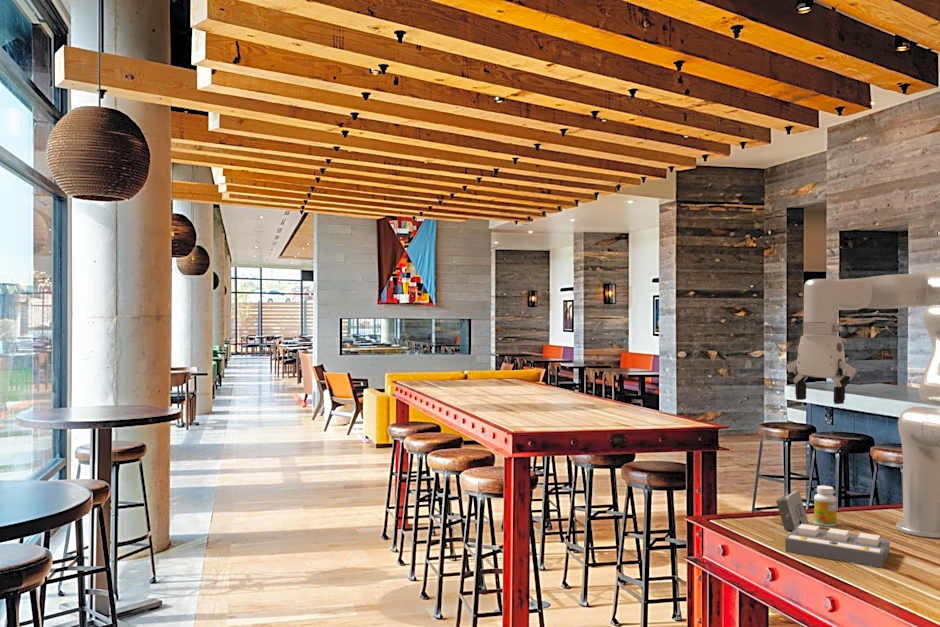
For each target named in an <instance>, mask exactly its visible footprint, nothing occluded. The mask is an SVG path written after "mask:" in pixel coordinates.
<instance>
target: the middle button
mask: <svg viewBox="0 0 940 627" xmlns="http://www.w3.org/2000/svg"><path fill="white" fill-rule="evenodd" d="M828 530H829V531H828V532H827V539H831V540H837V541H843V542H848V540H849V533H850V530H846V529H845V530H844V529H841V528H840V529H839V528H832V527H829V529H828Z"/></svg>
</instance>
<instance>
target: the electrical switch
mask: <svg viewBox="0 0 940 627" xmlns="http://www.w3.org/2000/svg"><path fill="white" fill-rule="evenodd" d="M775 503H776V505H777V509H778V512H779V514H780V519H781V522H782V525H783V528H784V531H785V530H787V531H793V530H794V529H795V528H796V527H797V526H800V525H801V524H806V525H810V524H809V523H810V522H809V519H808V516H807V513H806V509H805V507H804V503H803V499H802V496H801V494H800V491H799V490H794V491H792V492H791V493H789V494H784V495H783V496H781V497H780V498H778V499H776V502H775Z"/></svg>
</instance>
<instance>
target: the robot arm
mask: <svg viewBox="0 0 940 627" xmlns="http://www.w3.org/2000/svg"><path fill="white" fill-rule="evenodd" d="M916 307H925V309H924V311H923V317H922V318H923V320H922V321H923V324H924V326H925V329H926V330H927V332H928V334H929V337H930V340H931V344H932V345H931V346H932V349H931V350H932V351H931V353H930V354H931V355H930V358H929V360H928V363H927V366H926V368H925V371H924V373H923V376H922V378H921V380H920V384H919V388H918V395H919V398H920V399H921V401H923V402H924V403H925V404H928V405H931V406H936V407H940V271H937V272H918V273H917V272H916V273H903V274H902V273H901V274H884V275H875V276H868V277H860V278H846V279H844V278H843V279H842V278H841V279H831V278H812V279H808V280H806V281H805V283H804V284H803V332H802V333H803V334H802V335H801V336H800V339H799V344H798V348H797V350H798V351H797V357H796V359H795V360H793V361H791V362H788V363H787V364H785V366H786V367H785V368H786V370H787V371H788V375H789V377H790V378H791V379H792V381H793V383H794V384H795V390H794V391H795V393H794V394H795V399H796V400H797V401H803V400H806V399H807V384H806V382H805V381H806V380H807V379H808V377H810V378H822V379H831V380H832V382H833V383H834V384H835V385H836V386H834V387H833V404H834V405H843V404H844V403H845V399H846V387H848V385H849V384H850V383H851V382H852V381H853V379H854V377H855V374H856V373H857V368H855V367H853V366H852V365H850V364H848V363H847V362H846V356H845V348H844V342H843V339H842V336H838V335H839V332H843V326H842V325H839V311H856V310H861V309H874V310H886V309H889V310H891V309H903V308H904V309H905V308H916ZM796 369H797V370H796ZM897 428H898V434H899V438H900V443H901V449H902V451H901V452H902V500H903V501H902V514H903V516H902V519H901V520H899V521H897V522H896V524H895V527H896V529H897V530H898V531H901V532H903V533H906V534H908V535H913V536H918V537H924V538H934V539H935V538H938V539H940V409H939V408H935V407H928V406H912V407H908V408H906V409H904V410H903V411H902V412H901V413H900V415H899V417H898V420H897Z"/></svg>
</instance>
